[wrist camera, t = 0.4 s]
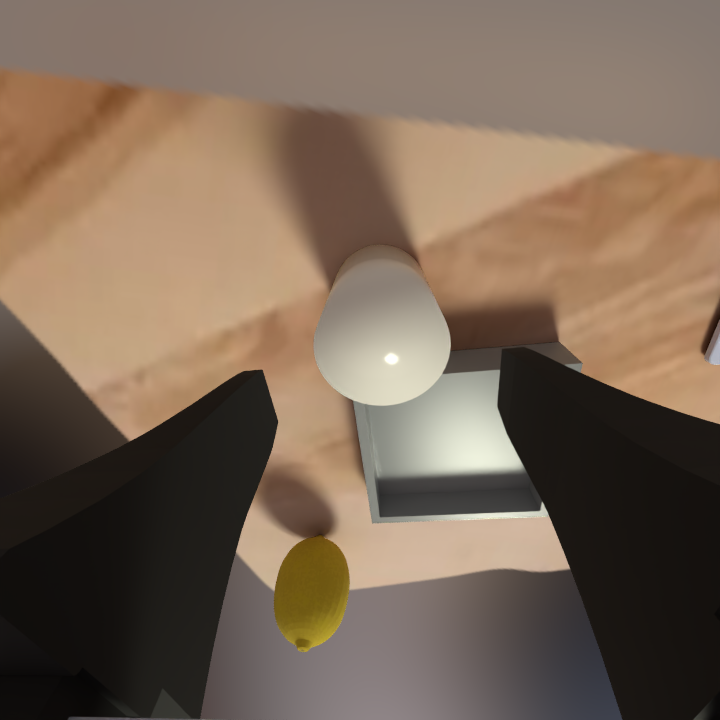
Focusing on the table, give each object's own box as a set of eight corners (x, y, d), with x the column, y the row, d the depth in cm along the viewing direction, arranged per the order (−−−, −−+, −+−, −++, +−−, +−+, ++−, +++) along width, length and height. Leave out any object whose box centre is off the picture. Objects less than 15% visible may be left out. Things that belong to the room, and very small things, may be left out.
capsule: (424, 239, 17) (451, 275, 11) (427, 329, 20) (450, 401, 13) (327, 250, 18) (301, 291, 12) (341, 337, 20) (325, 409, 14)
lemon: (283, 515, 28) (252, 629, 21) (349, 515, 28) (340, 630, 21) (294, 555, 31) (269, 668, 24) (354, 555, 30) (348, 670, 23)
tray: (559, 341, 20) (582, 363, 17) (533, 486, 25) (548, 516, 23) (352, 359, 21) (350, 381, 18) (372, 494, 26) (372, 523, 24)
